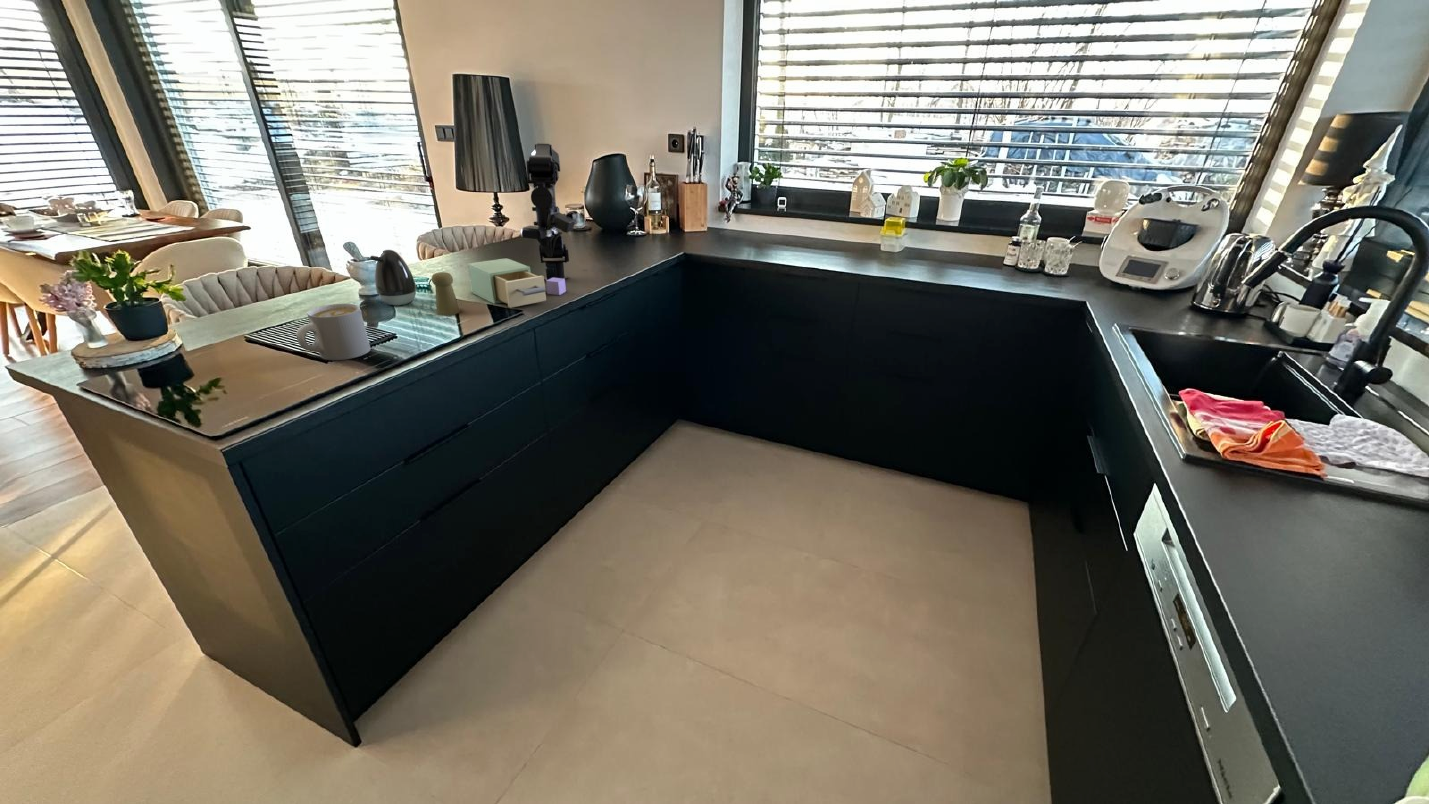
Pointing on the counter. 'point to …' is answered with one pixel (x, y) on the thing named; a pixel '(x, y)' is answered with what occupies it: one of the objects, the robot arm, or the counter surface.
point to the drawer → (519, 288)
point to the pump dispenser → (393, 278)
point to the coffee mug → (335, 332)
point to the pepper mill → (445, 294)
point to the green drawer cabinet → (491, 276)
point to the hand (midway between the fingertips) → (550, 257)
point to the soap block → (556, 286)
